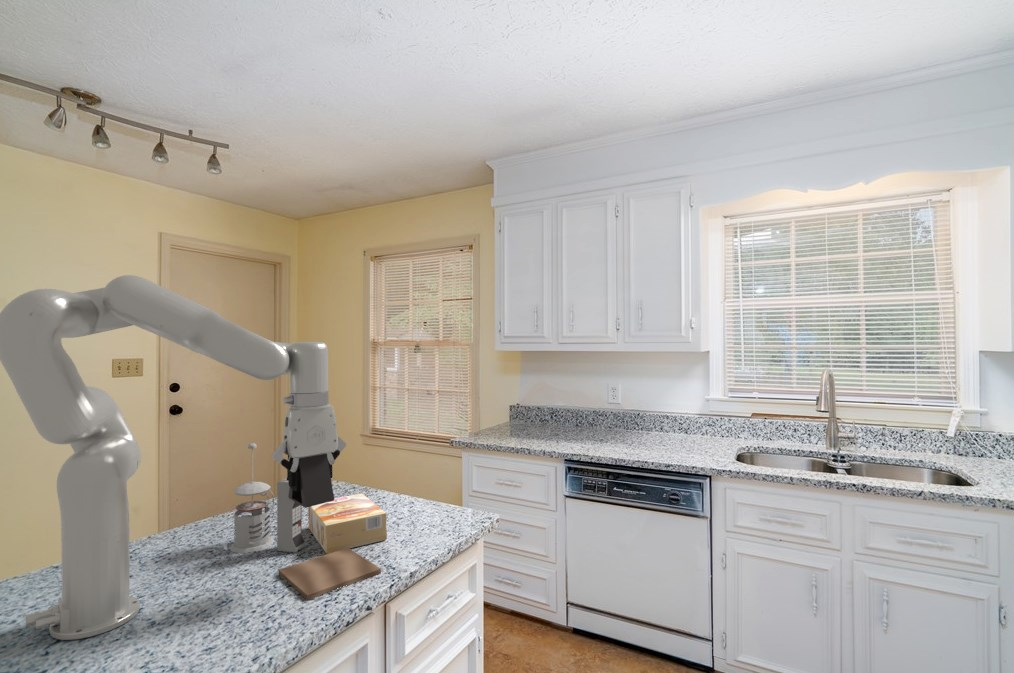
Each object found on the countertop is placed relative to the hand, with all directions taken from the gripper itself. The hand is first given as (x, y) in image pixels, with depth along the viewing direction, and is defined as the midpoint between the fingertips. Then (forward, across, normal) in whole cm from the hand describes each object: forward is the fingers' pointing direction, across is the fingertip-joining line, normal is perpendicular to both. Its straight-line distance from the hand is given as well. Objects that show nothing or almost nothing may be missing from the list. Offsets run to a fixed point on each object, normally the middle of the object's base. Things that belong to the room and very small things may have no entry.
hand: (311, 485), depth 105 cm
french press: (+20, -2, +29) cm, 35 cm away
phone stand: (+3, 0, 0) cm, 3 cm away
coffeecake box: (+17, +15, +8) cm, 24 cm away
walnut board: (+20, +4, 0) cm, 20 cm away
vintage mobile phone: (+20, +3, +19) cm, 28 cm away
